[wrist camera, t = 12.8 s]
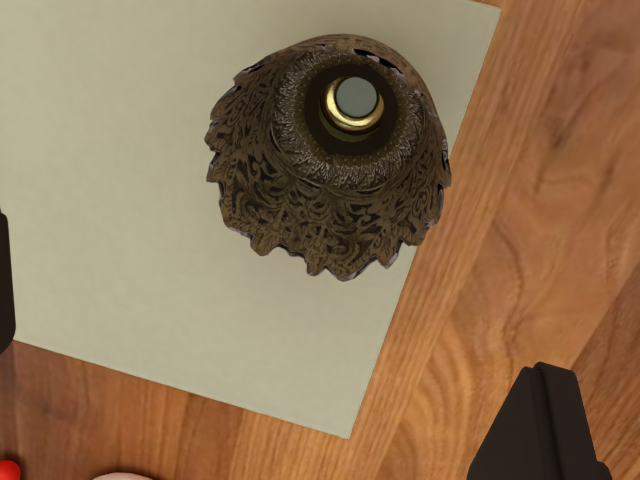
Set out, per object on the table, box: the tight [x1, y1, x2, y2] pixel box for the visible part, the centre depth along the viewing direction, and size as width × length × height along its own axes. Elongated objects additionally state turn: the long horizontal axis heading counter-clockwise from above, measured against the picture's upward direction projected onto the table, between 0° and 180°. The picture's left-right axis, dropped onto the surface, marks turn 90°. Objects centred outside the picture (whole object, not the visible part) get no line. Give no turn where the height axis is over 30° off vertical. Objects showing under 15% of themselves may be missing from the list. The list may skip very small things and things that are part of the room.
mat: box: [0, 0, 501, 439], centre depth 30 cm, size 36×24×1 cm, turn 78°
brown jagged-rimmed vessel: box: [204, 34, 451, 282], centre depth 21 cm, size 8×7×8 cm
